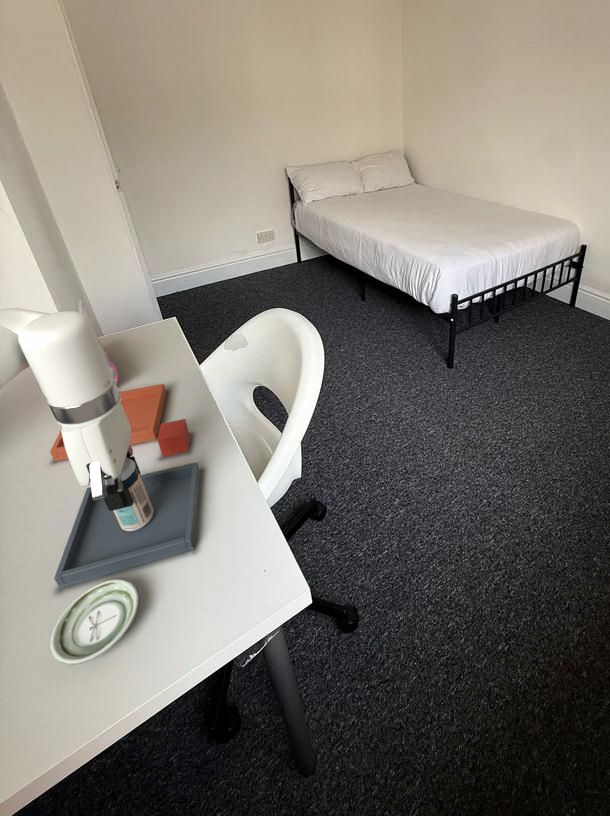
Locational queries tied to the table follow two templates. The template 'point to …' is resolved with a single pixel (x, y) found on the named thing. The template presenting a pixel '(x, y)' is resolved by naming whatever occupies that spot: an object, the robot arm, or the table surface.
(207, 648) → the table surface
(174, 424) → the red block
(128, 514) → the beer can
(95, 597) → the saucer
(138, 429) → the terracotta tray
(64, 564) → the grey tray
